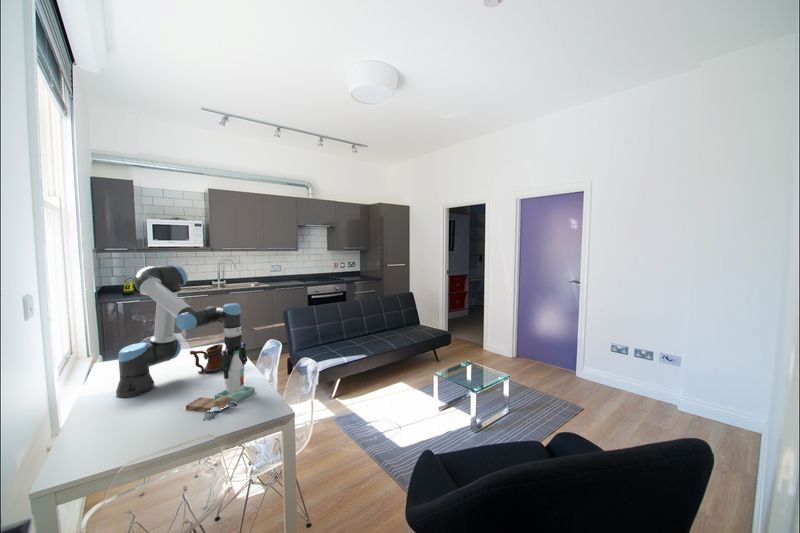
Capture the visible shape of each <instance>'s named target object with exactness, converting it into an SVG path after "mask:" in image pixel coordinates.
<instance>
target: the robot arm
mask: <svg viewBox="0 0 800 533" xmlns="http://www.w3.org/2000/svg"><path fill="white" fill-rule="evenodd" d="M187 282H188V275H187V273H186V271H185V269H184V268H183V267H182V266H180V265H176V264H175V265H172V264H169V265H154V266H152V265H150V266H146V267H143V268H141V269H140V270H137V272H136V273H135V275H134V277H133V284H134V287H135V289H136V290H137V291H138V292H139V293H141V294H142V295H144V296H148V297H150V299H152V300H153V301H154V302H156V306H155V307H156V308H155V318H154V331H153V335H152V336H151V337H150V338H149V343H148V342H138V343H133V344H130V345H127V346H125V347H123V348H121V349H120V350H119V352H118V359H117V360H118V368H119V381H118V384H117V387H116V389H115V395H116V397H118V398H131V397H136V396H140V395H143V394H146V393H149V392H150V391H152V390H153V389H154V388H155V381H154V380H153V377H152V375H151V373H150V367H152V366H155V365H158V364H162V363H165V362H169V361H171V360H173V359H176V357H178V356H179V354H180V352H181V349H182V344H181V341H180V340H179V339H178V338H177V335H175V334H174V332H175V325H176V326H177V328H178V329H179V330H181V331H185V330H192V329H195V328H196V329H197V328H198V327H203V326H207V325H210V324H211V325H212V324H215V323H221V324H223V337H224V338H223V339H224V340H223V341H224V345H225V349H224V350H222V351H220V354H221V361H220V372H219V373H223V378H224V385H225V386H226V385H231V373H230V371H229V368H230V365H231V361H232V357H233V356H234V352H235V351H236V350H239V358H240V360H241V362H242V364H243V376H244V377H245V365H246V364H247V362H248V355H247V350H246V346H247V344H246V343H245V342H243V338H242V337H243V336H242V310H241V305H240V304H239V303H235V302H234V303H224V304H223V306H217V305H213V306H206V308H203V309H199V310H195V309H194V308H193V307H191V305H189V304H188V303H187V302H185V301H184V300H183V299H182V298H180V297H179V296H178V294H179V293H180V292H181V291H182V287H183V286H186V284H187Z"/></svg>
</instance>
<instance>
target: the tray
mask: <svg viewBox="0 0 800 533" xmlns="http://www.w3.org/2000/svg"><path fill="white" fill-rule="evenodd" d="M255 390H256V388H255V386H248V385H244V388H243V390H242V391H239V392H236V393H228V392H227V391H226V388H225V389H224V390H221V391H220V392H218V393H216V394H215V395H214V399H218V398H220V397H222V396H229V401H233V402H236V404H238V403H239V402H241V401H243V400H245V399H246V398H248V397H249V396H251V395H253V394H254V393H255V392H256V391H255Z"/></svg>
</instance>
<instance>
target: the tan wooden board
mask: <svg viewBox="0 0 800 533" xmlns="http://www.w3.org/2000/svg"><path fill="white" fill-rule="evenodd" d="M215 400H216V399H215V398H214V397H213V398H209V397H198V398H196V399H195V400H193V401H191V402H190V403H188V404H186V405H185V410H186V411H194V412H201V413H202V412H203V413H208V412H207V411H208V410H210V409H211V408H212V407H215V404H214V401H215Z"/></svg>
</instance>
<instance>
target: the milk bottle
mask: <svg viewBox="0 0 800 533" xmlns="http://www.w3.org/2000/svg"><path fill="white" fill-rule="evenodd" d="M229 371H230V373H231V385H226V384H225V389H226V391H227V392H228V393H236V392H239V391H242V390H243V388H244V386H245V382H244V381H245V380H244V378H245V375H244V376H243V364H242V362H241V360H240V358H239V350H236V351H235V352H234V356H233V357H232V361H231V365H230V368H229Z"/></svg>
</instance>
